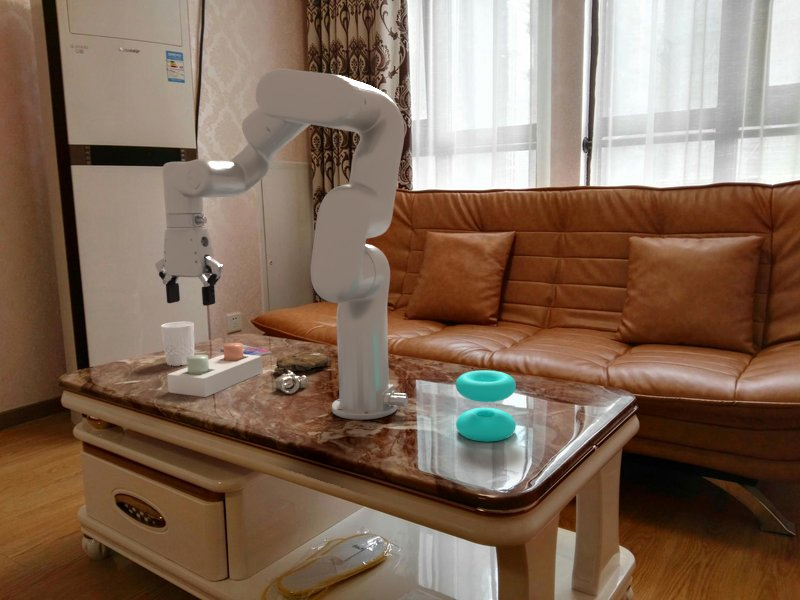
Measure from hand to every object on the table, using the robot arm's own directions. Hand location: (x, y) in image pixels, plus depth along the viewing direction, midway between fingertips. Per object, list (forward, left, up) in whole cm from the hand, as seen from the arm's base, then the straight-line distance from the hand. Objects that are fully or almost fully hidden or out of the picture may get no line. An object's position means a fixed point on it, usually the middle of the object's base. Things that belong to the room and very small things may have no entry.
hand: (191, 303), depth 133 cm
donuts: (-66, +4, -19) cm, 68 cm away
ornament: (-20, -7, -19) cm, 28 cm away
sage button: (-1, 0, -16) cm, 16 cm away
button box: (-1, -6, -19) cm, 20 cm away
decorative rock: (-13, -22, -19) cm, 32 cm away
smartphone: (+11, -32, -20) cm, 39 cm away
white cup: (+20, -17, -19) cm, 33 cm away
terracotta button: (-1, -12, -16) cm, 20 cm away
